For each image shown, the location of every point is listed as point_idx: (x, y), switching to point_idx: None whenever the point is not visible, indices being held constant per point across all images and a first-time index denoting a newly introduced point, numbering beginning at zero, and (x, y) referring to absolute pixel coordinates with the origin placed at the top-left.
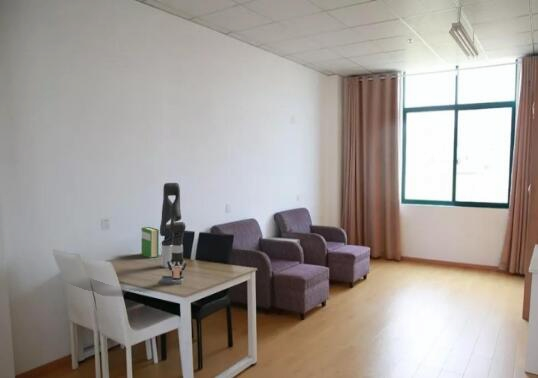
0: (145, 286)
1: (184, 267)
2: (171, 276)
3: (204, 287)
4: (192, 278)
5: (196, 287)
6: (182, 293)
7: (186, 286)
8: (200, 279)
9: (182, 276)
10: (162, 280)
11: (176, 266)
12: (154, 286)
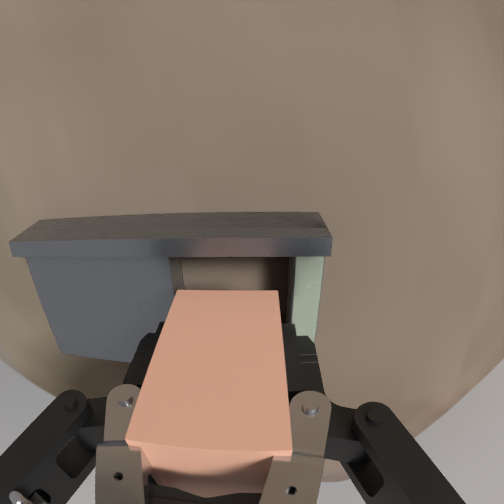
0: (38, 386)
1: (383, 484)
2: (118, 255)
3: (478, 380)
4: (418, 108)
5: (430, 394)
6: (330, 473)
7: (357, 393)
8: (500, 163)
9: (303, 254)
10: (86, 355)
11: (177, 458)
12: (88, 395)
